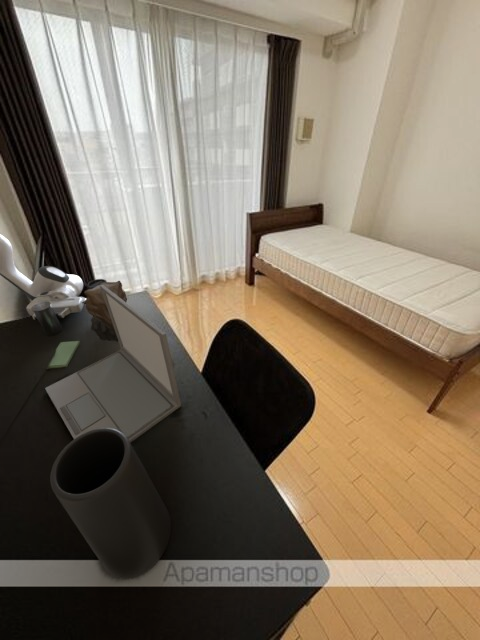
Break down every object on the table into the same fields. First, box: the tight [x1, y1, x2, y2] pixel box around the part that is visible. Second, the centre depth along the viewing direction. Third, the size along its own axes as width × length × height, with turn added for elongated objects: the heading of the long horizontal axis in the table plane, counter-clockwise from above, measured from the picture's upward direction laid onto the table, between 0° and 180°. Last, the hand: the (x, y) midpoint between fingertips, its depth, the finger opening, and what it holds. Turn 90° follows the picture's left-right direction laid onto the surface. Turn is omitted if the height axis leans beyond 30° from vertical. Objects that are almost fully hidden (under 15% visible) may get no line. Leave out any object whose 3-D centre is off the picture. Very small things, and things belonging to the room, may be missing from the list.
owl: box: [83, 280, 128, 342], centre depth 106 cm, size 13×13×20 cm
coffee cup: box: [86, 278, 108, 290], centre depth 118 cm, size 8×8×15 cm
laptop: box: [44, 285, 182, 444], centre depth 77 cm, size 35×26×27 cm
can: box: [31, 302, 63, 337], centre depth 109 cm, size 6×6×12 cm
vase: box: [49, 428, 172, 580], centre depth 49 cm, size 14×14×29 cm
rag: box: [45, 340, 81, 370], centre depth 101 cm, size 7×13×1 cm, turn 6°
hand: (47, 317), depth 109 cm, fingers open, 8 cm apart
